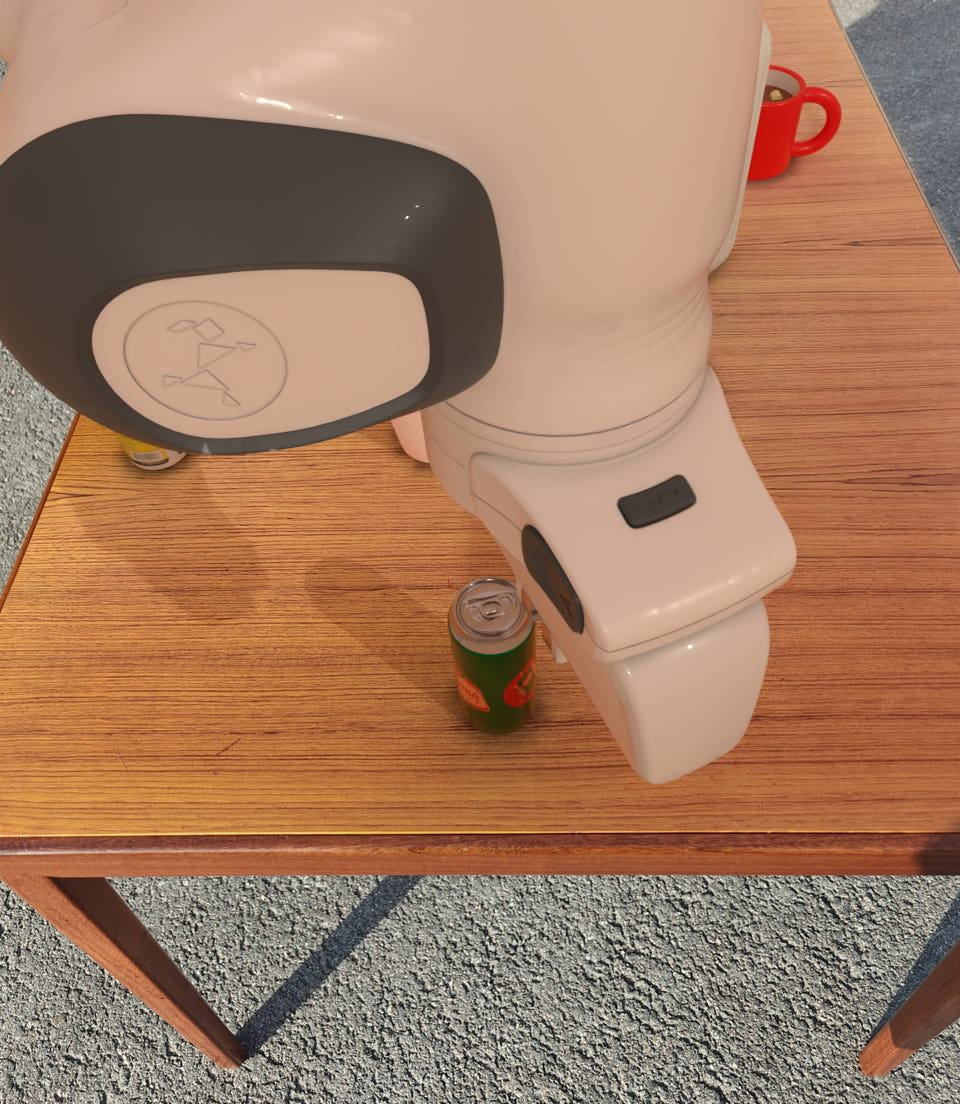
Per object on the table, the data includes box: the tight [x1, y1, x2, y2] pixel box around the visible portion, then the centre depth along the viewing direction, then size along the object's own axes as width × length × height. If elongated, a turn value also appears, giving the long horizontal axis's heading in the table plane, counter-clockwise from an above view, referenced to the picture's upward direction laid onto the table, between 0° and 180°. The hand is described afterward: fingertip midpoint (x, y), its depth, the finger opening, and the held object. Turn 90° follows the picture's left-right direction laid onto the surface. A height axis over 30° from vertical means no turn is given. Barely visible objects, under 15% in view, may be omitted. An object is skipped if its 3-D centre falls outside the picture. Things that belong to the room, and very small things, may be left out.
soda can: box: [446, 576, 537, 736], centre depth 57 cm, size 5×5×12 cm
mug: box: [747, 64, 843, 181], centre depth 94 cm, size 8×12×8 cm, turn 86°
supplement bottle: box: [113, 431, 188, 471], centre depth 74 cm, size 5×5×10 cm
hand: (554, 624), depth 41 cm, fingers closed
